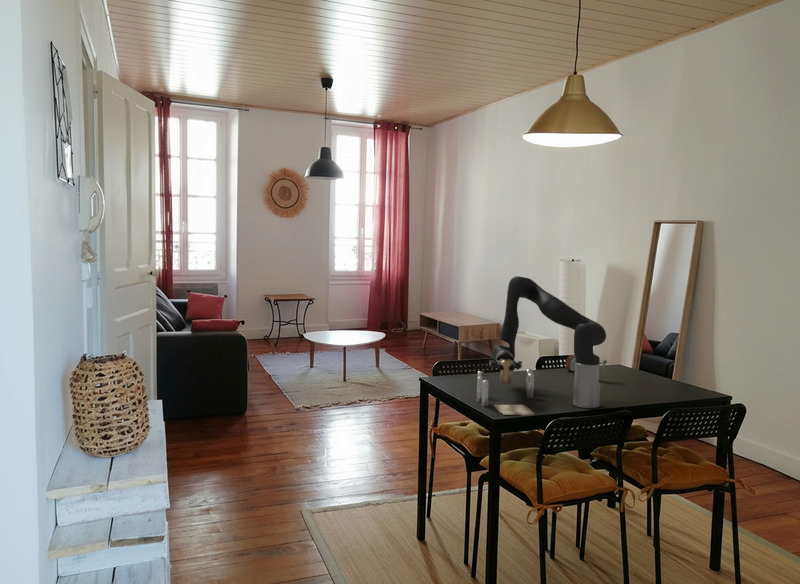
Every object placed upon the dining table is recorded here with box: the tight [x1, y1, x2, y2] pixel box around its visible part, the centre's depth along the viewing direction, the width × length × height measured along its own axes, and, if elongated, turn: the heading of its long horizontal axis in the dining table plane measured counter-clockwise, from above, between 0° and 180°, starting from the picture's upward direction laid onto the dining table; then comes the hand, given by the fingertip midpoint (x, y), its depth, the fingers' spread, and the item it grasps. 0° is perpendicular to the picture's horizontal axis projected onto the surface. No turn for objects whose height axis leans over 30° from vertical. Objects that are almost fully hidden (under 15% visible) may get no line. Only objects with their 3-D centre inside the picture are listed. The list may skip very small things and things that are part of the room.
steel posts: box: [476, 368, 535, 407], centre depth 251 cm, size 28×24×10 cm
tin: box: [564, 354, 576, 373], centre depth 311 cm, size 15×3×8 cm, turn 122°
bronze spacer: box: [499, 360, 512, 385], centre depth 247 cm, size 4×4×9 cm
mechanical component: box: [599, 359, 608, 369], centre depth 292 cm, size 3×10×10 cm, turn 79°
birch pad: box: [493, 404, 535, 416], centre depth 233 cm, size 12×12×1 cm
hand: (506, 367), depth 244 cm, fingers closed on bronze spacer, 4 cm apart
